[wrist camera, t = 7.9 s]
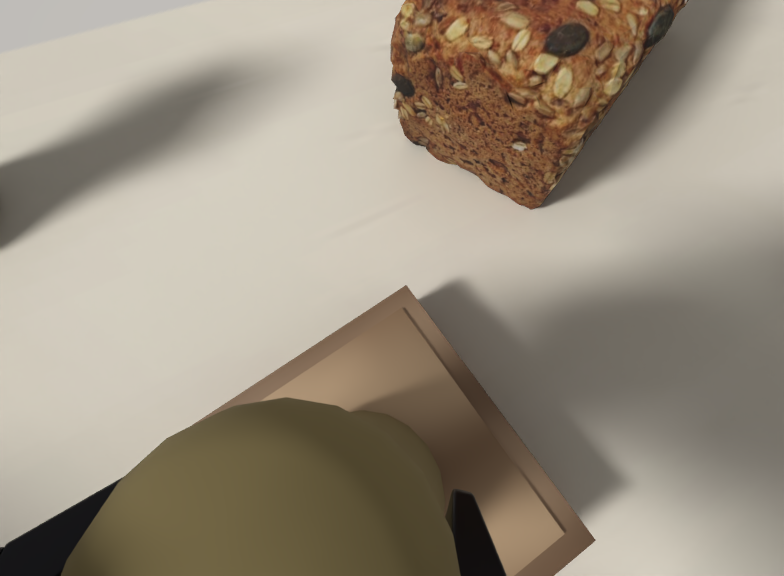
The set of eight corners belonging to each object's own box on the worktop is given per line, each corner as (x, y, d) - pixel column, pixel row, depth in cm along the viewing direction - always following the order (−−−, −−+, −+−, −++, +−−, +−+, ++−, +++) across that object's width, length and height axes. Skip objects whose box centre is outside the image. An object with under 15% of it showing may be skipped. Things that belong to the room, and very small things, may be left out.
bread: (541, -27, 29) (598, -242, 20) (681, 29, 27) (823, -190, 17) (387, 140, 25) (369, -36, 16) (537, 228, 22) (625, 77, 13)
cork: (412, 388, 15) (409, 288, 5) (471, 565, 13) (672, 1012, 3) (261, 439, 15) (-74, 442, 5) (296, 630, 13) (-177, 1396, 3)
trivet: (566, 522, 17) (597, 541, 14) (328, 717, 15) (307, 785, 12) (407, 305, 21) (406, 284, 18) (203, 441, 19) (163, 442, 16)
